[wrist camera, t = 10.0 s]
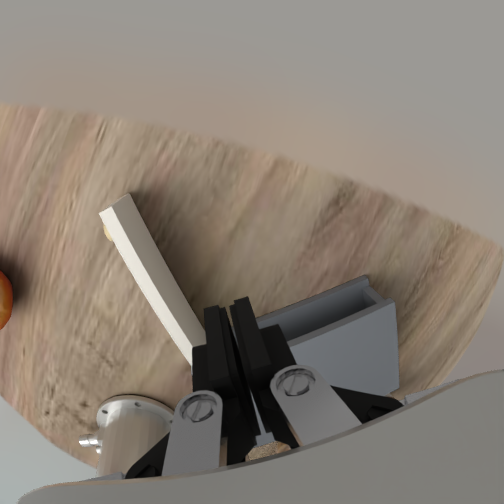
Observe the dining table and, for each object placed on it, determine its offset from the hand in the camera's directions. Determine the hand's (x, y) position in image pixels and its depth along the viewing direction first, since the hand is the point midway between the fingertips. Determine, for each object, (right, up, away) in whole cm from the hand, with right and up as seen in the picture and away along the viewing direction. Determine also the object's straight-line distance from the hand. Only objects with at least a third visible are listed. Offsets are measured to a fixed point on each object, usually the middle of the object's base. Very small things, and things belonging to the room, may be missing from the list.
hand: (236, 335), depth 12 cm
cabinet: (+7, -9, +27) cm, 29 cm away
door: (-9, +1, +20) cm, 22 cm away
